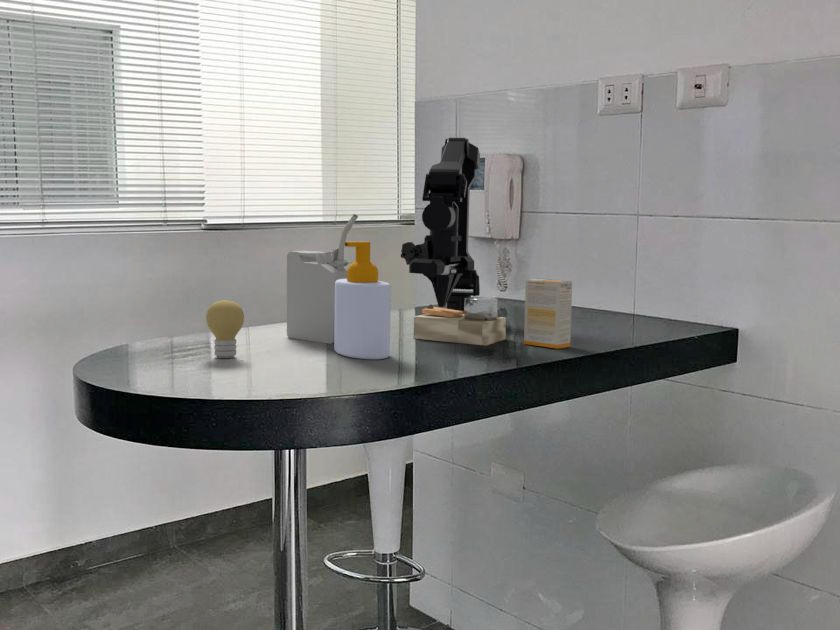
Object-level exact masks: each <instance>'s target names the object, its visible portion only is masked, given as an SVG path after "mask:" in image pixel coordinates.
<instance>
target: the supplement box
mask: <svg viewBox="0 0 840 630" xmlns="http://www.w3.org/2000/svg"><path fill="white" fill-rule="evenodd" d="M524 290H525V293H524V294H525V295H524V301H525V302H524V327H523V328H524V330H523V331H524V332H523V333H524V335H523V336H524V337H523V338H524V339H523V344H524V345H529V346H536V347H537V346H538V347H544V348H550V349H557V350H559V349H565V348H570V347H571V332H572V307H573V304H572V303H573V302H572V301H573V300H572V299H573V297H572V296H573V280H566V279H554V278H553V279H552V278H540V277H538V278H537V277H536V278H529V279H525V289H524Z"/></svg>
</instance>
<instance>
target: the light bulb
mask: <svg viewBox="0 0 840 630" xmlns="http://www.w3.org/2000/svg"><path fill="white" fill-rule="evenodd" d="M205 316H206V317H205V320H206V324H207V327H208V329H209V331H210V332H211V333H212V334H213V335H214V338H215V339H214V340H213V342H214V345H213V347H214V351H213V352H214V355H215V356H216V357H217V358H218V359H232V358H234V357H235V356H237V339H236V336H237V334H239V332H240V331H241V329H242V327H243V326H244V322H245V313H244V310H243V308H242V307H241V305H240V304H238V303H236V302H235V301H233V300H227V299H222V300H219V301H215V302H213V303H212V304H211V305H209V307H208V309H207V311H206V315H205Z"/></svg>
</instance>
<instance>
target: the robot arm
mask: <svg viewBox="0 0 840 630" xmlns="http://www.w3.org/2000/svg"><path fill="white" fill-rule="evenodd" d="M440 153H441V155H440V161H439V163H435V164H433V165H431V167H430V169H429V170H428V173H425V177H424V178H425V179H424V186H423V191H422V198H421V199H422V202H429V204H427V205H426V206H425V207H424V209H423V211H422V214H421V221H422V223H423V226H424V227H425V228H427V229H428V230H429V235H427V234H426V235H425V236H424V242H423V243H420V244H415V243H414V242H413V241H409V242H405V243H402V246H401V250H400V252H401V254H400V258H402V259H404V260H405V263H406V266H408V268H409V269H408V273H409V274H417V275H418V274H421V275H422V276H424V277H426V278H427V279H428V280H429V281H430V283H431V286H432V289H433V292H434V294H435V299H436V302H437V306H438V308H445V309H452V310H459V311H463V314H464V303H465V298H468V297H480V295H481V294H480V289H481V288H480V287H481V286H480V276H479V274H478V271H477V269H475V260H474V259H473V258H472V256H471V254H470V252H469V230H470V229H469V226H470V225H469V223H470V198H471V197H470V196H471V195H470V193H471V187H472V185H473V184H474V182H475V180H476V179H477V177H478V170H480V169H481V154H480V153H481V152H480V150H479V147H478V146H476V145H474V144H472V143H471V142H470V140H469V138H466V137H448V138H445V140H444V145H443V146H442V147H441V152H440ZM469 290H470V291H469ZM471 290H472V291H471Z"/></svg>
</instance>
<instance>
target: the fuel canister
mask: <svg viewBox="0 0 840 630" xmlns="http://www.w3.org/2000/svg"><path fill="white" fill-rule="evenodd" d="M358 218H359V216H358V215H357V214H355V213H354V214H352V215H351V217H350V218H349V220H348V221H347V223H346V224H345V226H344V227H343V229H342V232H341V236H340V241H339V244H338V247H336V248H335V249H332V251H314V250H291V251H289V252H288V253H287V255H286V336H287V338H290V339H294V340H295V339H296V340H302V341H309V342H315V343H316V342H317V343H324V344H328V345H334V320H335V281H336V280H339V279H347V270H348V269H346V268H345V267H346V266H348V265H349V264H352V261H350V260H347V259H346V260H345V259H344V258H345V249H344V248H345V242H347V241H346V240H347V235H348V233H349V232H350V231H351V229H352V228H353V225H354V224H355V223H356V220H357V219H358Z"/></svg>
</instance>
